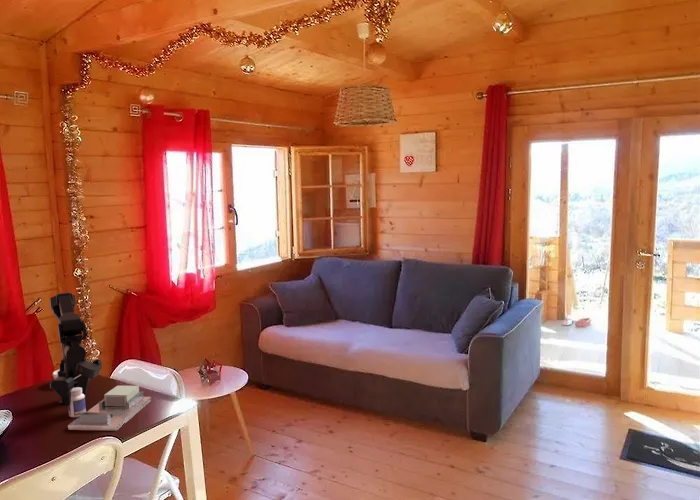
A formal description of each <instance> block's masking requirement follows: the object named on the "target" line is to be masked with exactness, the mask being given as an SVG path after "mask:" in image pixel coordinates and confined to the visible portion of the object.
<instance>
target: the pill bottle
mask: <svg viewBox="0 0 700 500" xmlns="http://www.w3.org/2000/svg"><path fill="white" fill-rule="evenodd" d="M67 410H68V416H69V417H70V418H79V417H80V414H82V413H83V412H87V408H86V395H84V394H82V388H81V387H76V388H73V389H72V390H71V404H70V406H67Z"/></svg>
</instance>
